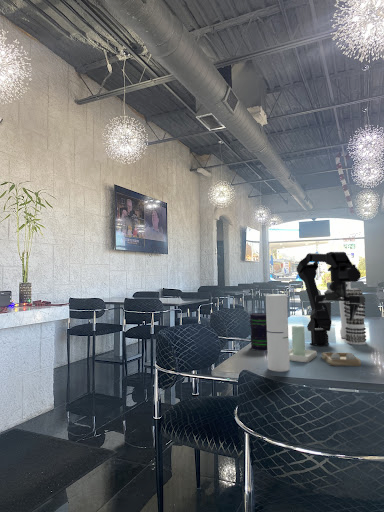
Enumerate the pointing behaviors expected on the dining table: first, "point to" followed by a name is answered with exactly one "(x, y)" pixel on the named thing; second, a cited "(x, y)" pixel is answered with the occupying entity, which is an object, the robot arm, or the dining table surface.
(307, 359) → the white tray
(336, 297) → the robot arm
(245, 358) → the dining table surface
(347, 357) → the pebble
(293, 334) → the sage green tall cylinder
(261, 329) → the storage jar
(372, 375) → the dining table surface
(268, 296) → the cylindrical container
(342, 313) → the bottle
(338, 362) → the wooden tray
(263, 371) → the dining table surface
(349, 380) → the dining table surface
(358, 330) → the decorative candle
